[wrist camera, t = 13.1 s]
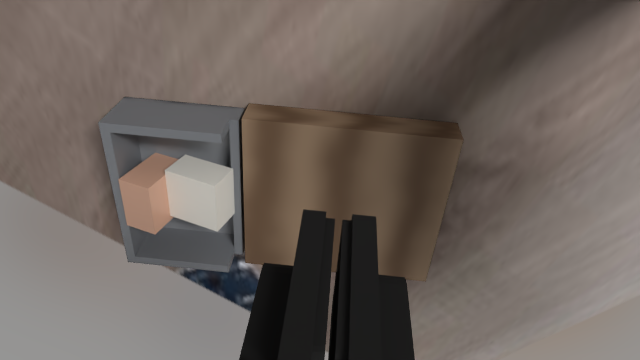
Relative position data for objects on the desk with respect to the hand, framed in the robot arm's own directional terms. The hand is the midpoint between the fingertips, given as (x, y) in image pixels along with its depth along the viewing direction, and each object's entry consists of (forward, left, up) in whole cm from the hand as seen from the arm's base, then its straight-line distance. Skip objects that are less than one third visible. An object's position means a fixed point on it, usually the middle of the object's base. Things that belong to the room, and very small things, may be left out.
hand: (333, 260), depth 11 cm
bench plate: (-1, +18, -29) cm, 34 cm away
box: (+14, +18, -29) cm, 37 cm away
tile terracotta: (+15, +18, -26) cm, 35 cm away
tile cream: (+11, +18, -27) cm, 35 cm away
